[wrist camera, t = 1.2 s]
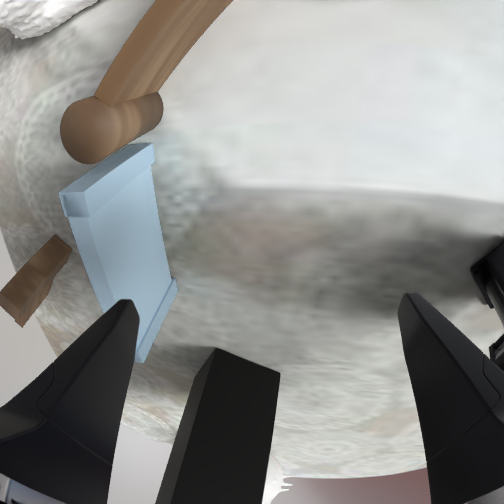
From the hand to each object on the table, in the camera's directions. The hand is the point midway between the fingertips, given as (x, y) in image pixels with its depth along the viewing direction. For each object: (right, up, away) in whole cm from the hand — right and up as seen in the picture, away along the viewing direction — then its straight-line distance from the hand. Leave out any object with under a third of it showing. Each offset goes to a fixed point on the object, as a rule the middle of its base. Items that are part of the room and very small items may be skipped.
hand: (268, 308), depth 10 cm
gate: (-8, +4, +14) cm, 17 cm away
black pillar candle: (-2, -12, +25) cm, 28 cm away
